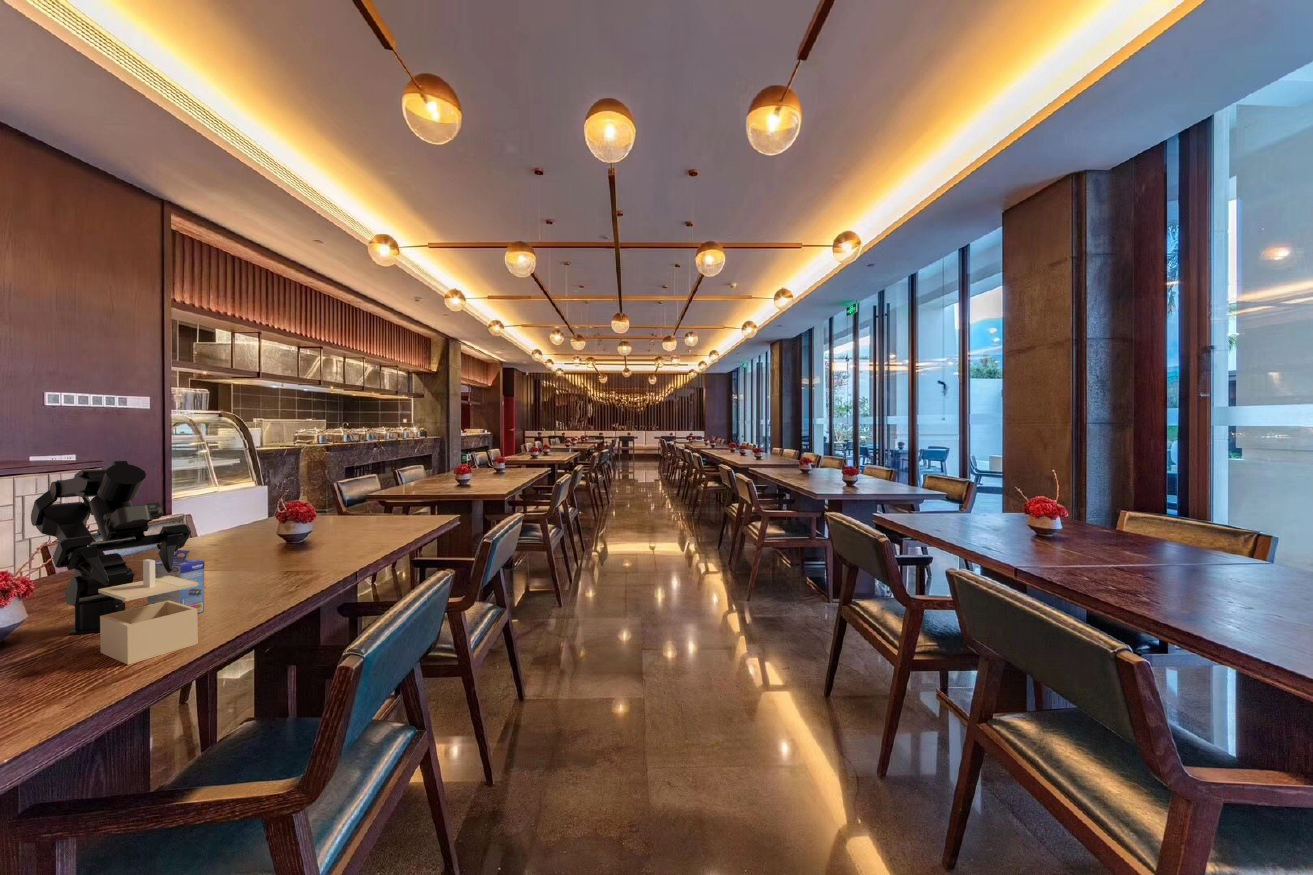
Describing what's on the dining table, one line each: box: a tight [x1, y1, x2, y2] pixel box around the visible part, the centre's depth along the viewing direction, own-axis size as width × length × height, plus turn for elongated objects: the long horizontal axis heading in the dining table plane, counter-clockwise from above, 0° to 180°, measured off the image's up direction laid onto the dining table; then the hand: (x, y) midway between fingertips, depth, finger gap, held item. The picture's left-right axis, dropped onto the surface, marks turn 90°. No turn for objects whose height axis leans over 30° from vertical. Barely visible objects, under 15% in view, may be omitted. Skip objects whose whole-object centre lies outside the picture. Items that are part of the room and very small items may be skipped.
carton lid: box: [98, 558, 198, 602], centre depth 98 cm, size 12×10×6 cm
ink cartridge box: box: [147, 549, 206, 615], centre depth 117 cm, size 10×6×14 cm, turn 78°
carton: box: [99, 600, 199, 665], centre depth 98 cm, size 12×10×7 cm
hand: (139, 577), depth 99 cm, fingers open, 9 cm apart
